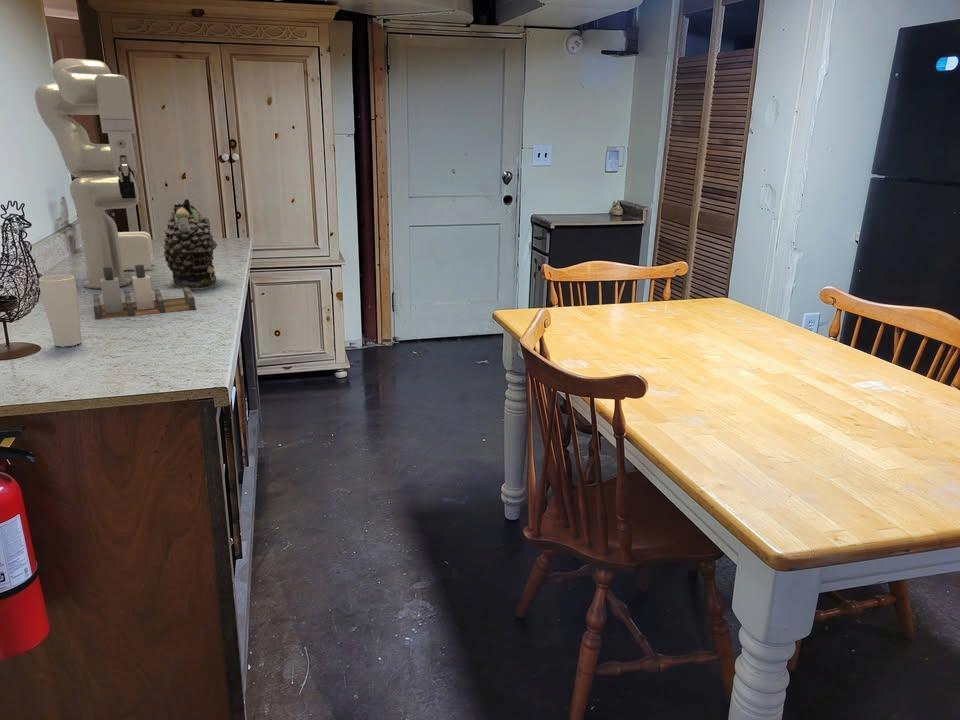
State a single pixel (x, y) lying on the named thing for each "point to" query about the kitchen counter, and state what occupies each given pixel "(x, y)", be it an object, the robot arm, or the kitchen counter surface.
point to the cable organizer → (135, 249)
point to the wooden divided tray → (159, 307)
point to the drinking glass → (61, 308)
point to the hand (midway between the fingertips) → (128, 196)
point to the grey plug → (111, 292)
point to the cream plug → (142, 289)
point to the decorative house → (189, 248)
